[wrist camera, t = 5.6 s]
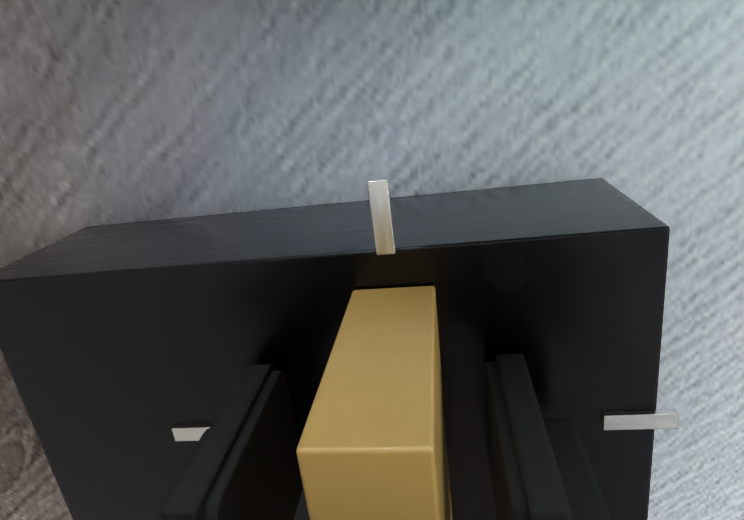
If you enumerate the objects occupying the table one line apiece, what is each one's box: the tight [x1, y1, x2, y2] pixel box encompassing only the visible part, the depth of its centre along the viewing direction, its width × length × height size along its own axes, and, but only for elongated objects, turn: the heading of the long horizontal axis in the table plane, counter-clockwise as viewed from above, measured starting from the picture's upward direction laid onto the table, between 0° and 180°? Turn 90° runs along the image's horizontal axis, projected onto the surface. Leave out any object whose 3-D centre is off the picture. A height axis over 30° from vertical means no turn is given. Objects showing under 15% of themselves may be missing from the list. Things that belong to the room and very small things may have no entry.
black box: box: [0, 178, 679, 520], centre depth 13 cm, size 14×11×4 cm
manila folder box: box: [296, 286, 452, 520], centre depth 9 cm, size 6×2×5 cm, turn 6°
